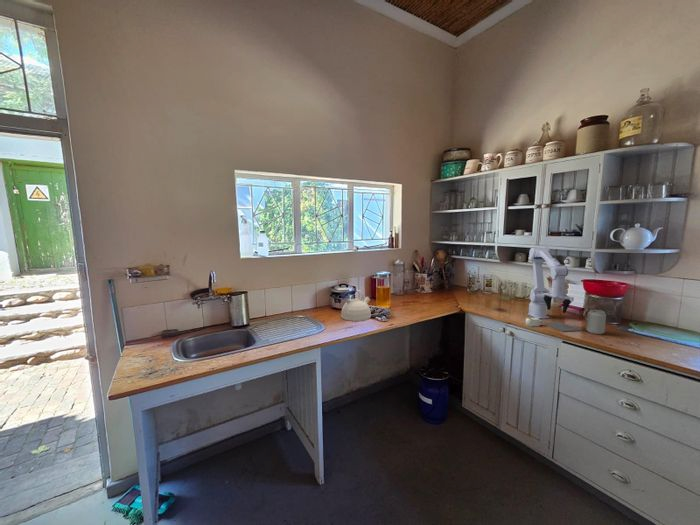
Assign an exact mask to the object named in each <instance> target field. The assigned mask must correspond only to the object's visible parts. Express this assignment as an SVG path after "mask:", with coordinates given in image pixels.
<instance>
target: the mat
mask: <svg viewBox="0 0 700 525" xmlns="http://www.w3.org/2000/svg"><path fill="white" fill-rule="evenodd" d="M542 324H544V325H546V326H548V327H551V328H554V329H555V330H558V331H561V332H563V333H568V332H580V331H581V329H578V328H576V327H573V326H570V325H568V324H565V323H563V322H560V321H549V322H546V321H545V322H543V323H542Z"/></svg>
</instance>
